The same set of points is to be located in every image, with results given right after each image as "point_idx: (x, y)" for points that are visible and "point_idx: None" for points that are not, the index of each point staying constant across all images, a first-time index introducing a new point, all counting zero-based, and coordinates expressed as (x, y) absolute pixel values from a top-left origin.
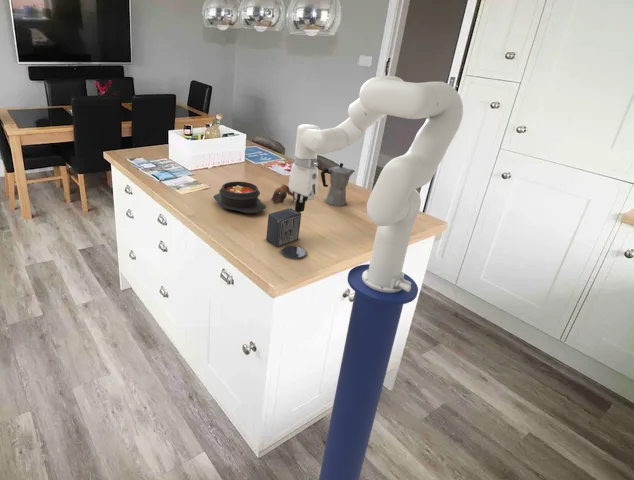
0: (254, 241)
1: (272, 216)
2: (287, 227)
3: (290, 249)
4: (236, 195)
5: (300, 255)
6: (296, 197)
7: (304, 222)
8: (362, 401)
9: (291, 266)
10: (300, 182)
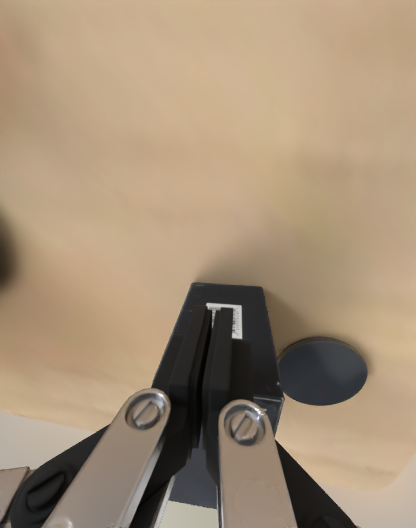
0: None
1: (198, 503)
2: None
3: (301, 372)
4: None
5: (356, 381)
6: (156, 505)
7: (144, 103)
8: None
9: (363, 425)
10: None
